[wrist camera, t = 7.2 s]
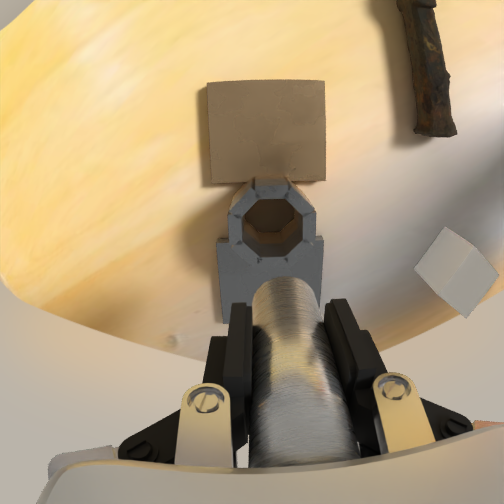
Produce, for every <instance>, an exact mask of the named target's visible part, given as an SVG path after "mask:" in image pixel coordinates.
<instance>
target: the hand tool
mask: <svg viewBox="0 0 504 504" xmlns="http://www.w3.org/2000/svg"><path fill="white" fill-rule="evenodd" d="M397 6H398V9H399V11H401V12H402V13H403V17H404V20H405V26H406V32H407V38H408V48H409V52H410V56H411V63H412V71H413V80H414V90H415V94H416V103H417V111H418V123H417V127H416V128H415V129H414V131H413V132H414V133H415V134H421V135H425V136H429V137H452V136H454V135H457V130H456V127H455V124H454V122H453V119H452V116H451V105H450V98H449V84H450V81H449V78H450V77H451V76H450V74H449V73H448V72H447V70H446V67H445V61H444V56H443V51H442V45H441V40H440V35H439V31H438V28H437V24H436V20H435V13H434V10H433V8H435V7H436V6H437V4H436V0H397Z"/></svg>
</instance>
